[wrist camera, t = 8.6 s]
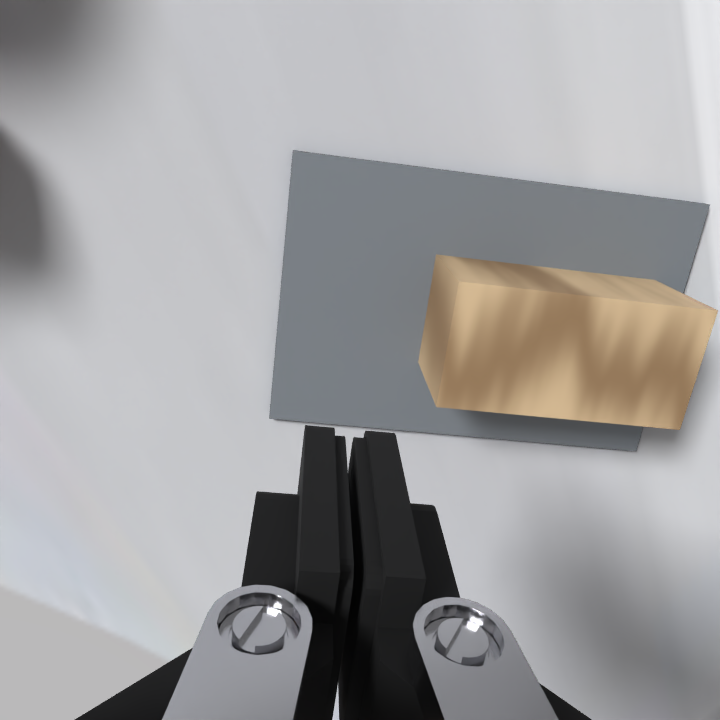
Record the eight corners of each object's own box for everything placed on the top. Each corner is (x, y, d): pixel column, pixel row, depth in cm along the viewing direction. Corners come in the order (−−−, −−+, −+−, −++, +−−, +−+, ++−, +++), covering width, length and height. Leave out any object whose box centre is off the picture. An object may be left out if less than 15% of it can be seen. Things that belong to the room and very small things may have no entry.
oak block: (458, 281, 24) (722, 311, 25) (436, 254, 29) (659, 280, 30) (436, 407, 26) (684, 430, 27) (418, 362, 30) (629, 383, 31)
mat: (293, 150, 27) (292, 150, 27) (705, 203, 29) (709, 204, 29) (269, 414, 31) (269, 418, 31) (632, 447, 33) (636, 451, 33)
